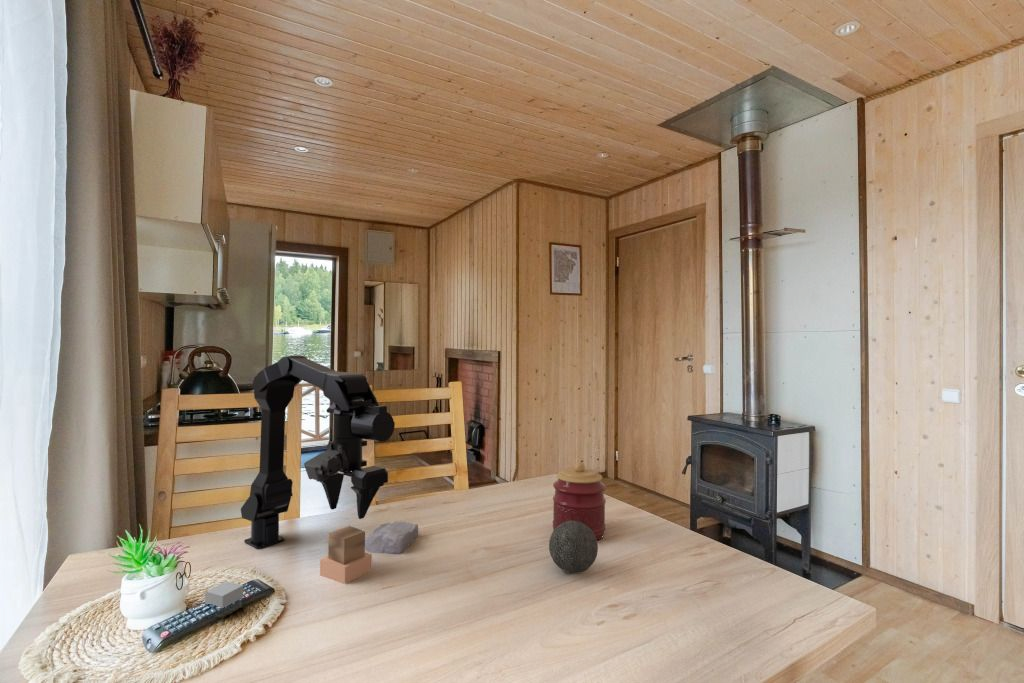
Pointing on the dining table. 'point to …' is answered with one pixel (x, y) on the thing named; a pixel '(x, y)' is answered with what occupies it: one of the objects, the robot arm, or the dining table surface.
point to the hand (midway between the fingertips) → (346, 513)
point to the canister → (580, 498)
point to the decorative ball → (573, 546)
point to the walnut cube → (346, 545)
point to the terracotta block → (345, 568)
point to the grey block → (224, 594)
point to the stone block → (391, 537)
